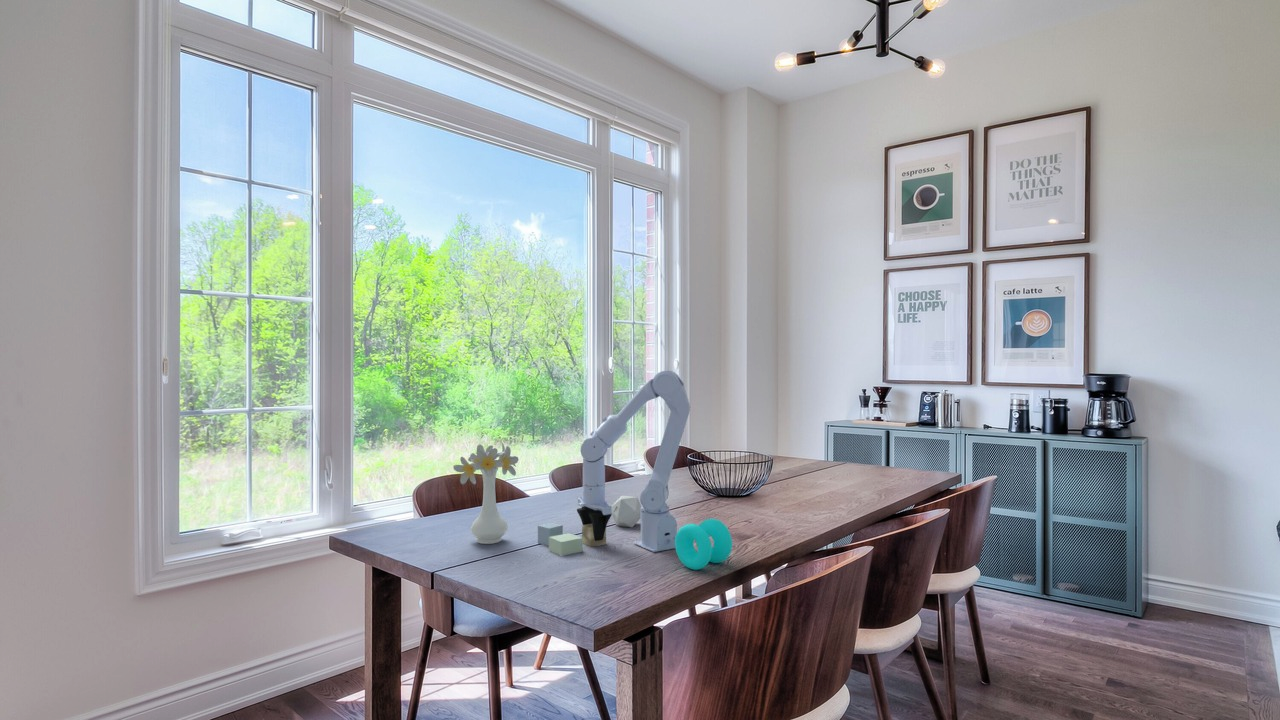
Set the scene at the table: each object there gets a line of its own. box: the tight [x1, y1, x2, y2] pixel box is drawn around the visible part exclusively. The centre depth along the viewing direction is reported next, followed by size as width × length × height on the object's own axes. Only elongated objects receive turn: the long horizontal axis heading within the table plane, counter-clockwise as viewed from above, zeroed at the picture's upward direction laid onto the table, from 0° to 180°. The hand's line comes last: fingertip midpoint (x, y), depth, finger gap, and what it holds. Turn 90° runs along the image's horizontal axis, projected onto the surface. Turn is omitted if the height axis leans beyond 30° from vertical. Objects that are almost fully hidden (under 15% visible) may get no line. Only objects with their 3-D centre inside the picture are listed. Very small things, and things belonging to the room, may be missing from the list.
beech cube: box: [581, 524, 607, 548], centre depth 170 cm, size 4×4×4 cm
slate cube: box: [537, 522, 564, 547], centre depth 171 cm, size 4×4×4 cm
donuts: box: [674, 518, 733, 571], centre depth 151 cm, size 10×10×10 cm
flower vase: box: [452, 442, 519, 545], centre depth 172 cm, size 13×18×25 cm
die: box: [610, 495, 642, 528], centre depth 189 cm, size 8×9×10 cm
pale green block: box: [548, 533, 584, 556], centre depth 163 cm, size 6×6×4 cm
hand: (594, 537), depth 170 cm, fingers closed on beech cube, 4 cm apart
